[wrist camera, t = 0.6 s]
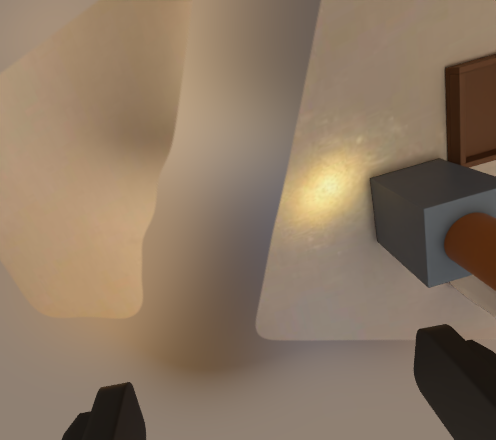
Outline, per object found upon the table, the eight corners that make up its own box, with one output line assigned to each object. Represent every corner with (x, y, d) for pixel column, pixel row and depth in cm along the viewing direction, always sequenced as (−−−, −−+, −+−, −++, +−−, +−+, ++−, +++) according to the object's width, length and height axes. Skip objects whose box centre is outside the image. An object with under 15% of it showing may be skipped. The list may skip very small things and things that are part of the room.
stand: (369, 178, 38) (423, 209, 29) (439, 158, 38) (515, 182, 29) (377, 241, 41) (428, 288, 32) (442, 223, 41) (511, 263, 32)
